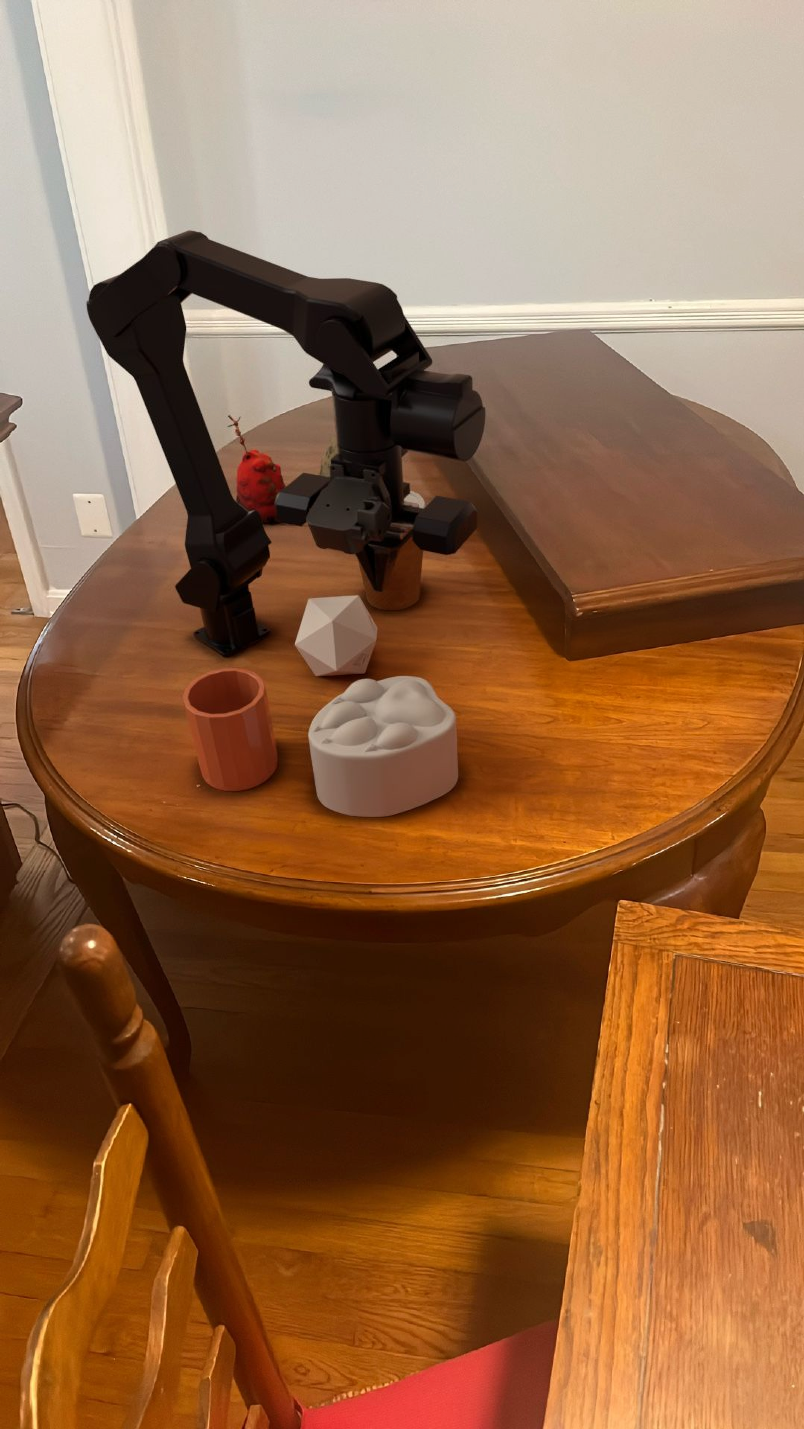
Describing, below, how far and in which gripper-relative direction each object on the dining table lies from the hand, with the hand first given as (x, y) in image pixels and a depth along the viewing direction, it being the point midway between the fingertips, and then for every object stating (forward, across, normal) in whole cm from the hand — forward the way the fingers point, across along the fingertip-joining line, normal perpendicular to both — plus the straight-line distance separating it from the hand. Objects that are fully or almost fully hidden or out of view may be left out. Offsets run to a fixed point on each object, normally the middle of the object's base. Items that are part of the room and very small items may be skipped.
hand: (380, 589), depth 98 cm
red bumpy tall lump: (+12, -33, +28) cm, 45 cm away
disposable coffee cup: (+12, -7, +16) cm, 21 cm away
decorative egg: (+12, -18, +28) cm, 35 cm away
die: (+12, -6, +1) cm, 13 cm away
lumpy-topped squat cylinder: (+12, +6, -13) cm, 19 cm away
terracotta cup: (+12, -7, -17) cm, 22 cm away
